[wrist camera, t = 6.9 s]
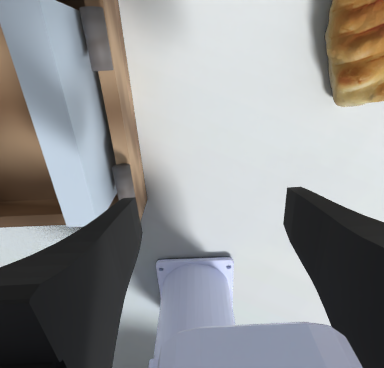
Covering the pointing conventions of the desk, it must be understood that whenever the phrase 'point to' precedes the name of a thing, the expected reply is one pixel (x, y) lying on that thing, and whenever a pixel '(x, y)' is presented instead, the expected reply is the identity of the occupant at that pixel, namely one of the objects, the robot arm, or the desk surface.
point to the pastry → (356, 51)
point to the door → (63, 103)
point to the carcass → (28, 141)
